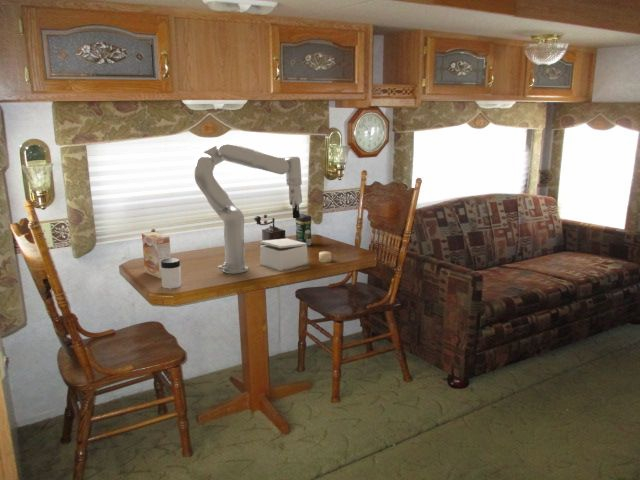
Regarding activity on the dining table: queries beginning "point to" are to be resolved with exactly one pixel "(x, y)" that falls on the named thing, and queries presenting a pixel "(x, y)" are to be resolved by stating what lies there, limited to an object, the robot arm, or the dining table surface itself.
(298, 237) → the coffee jar
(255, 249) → the dining table surface
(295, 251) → the carton
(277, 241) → the box lid
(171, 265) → the jar
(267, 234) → the brown coffee grinder
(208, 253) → the dining table surface
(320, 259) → the beige egg-shaped stone
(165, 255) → the coffeecake box
